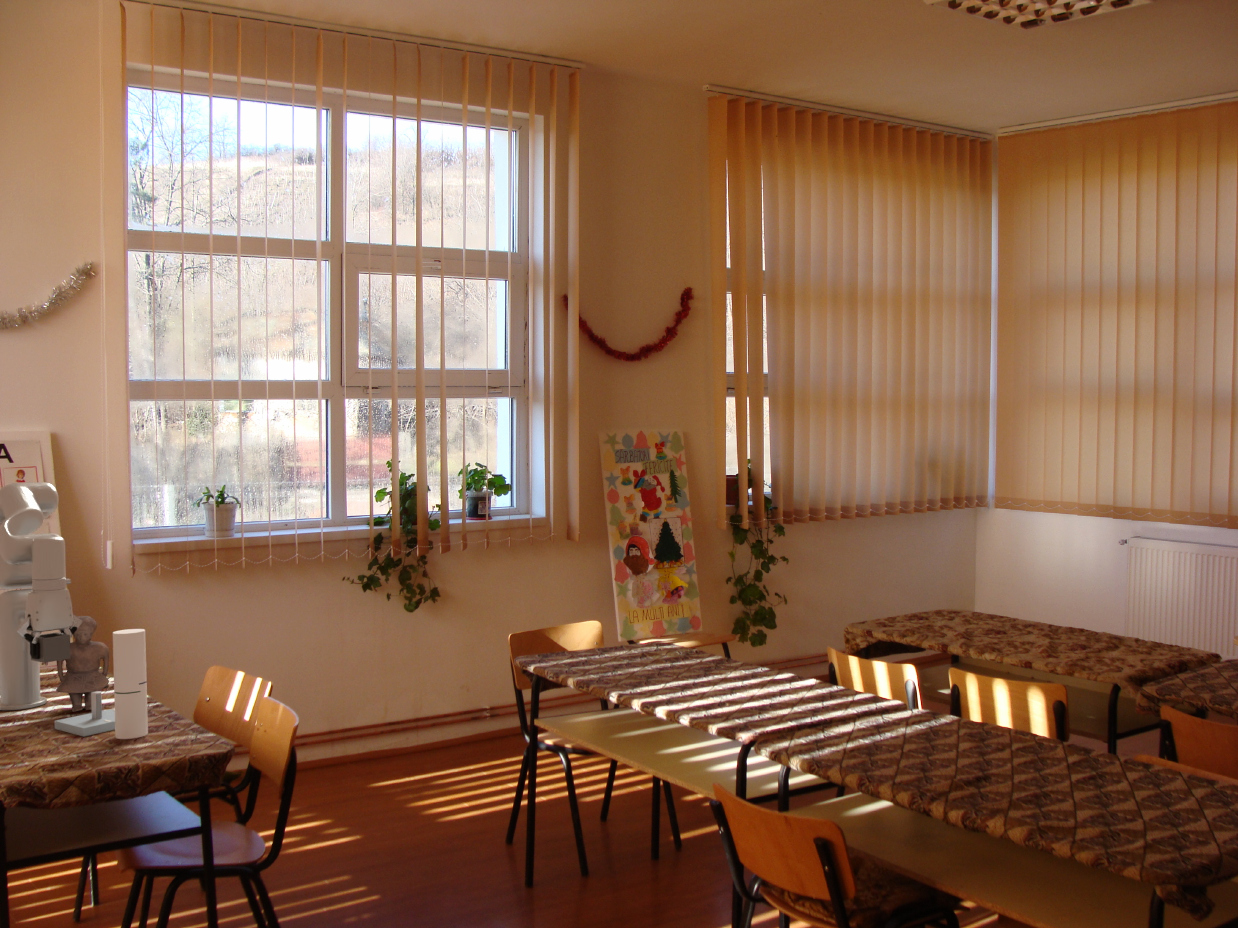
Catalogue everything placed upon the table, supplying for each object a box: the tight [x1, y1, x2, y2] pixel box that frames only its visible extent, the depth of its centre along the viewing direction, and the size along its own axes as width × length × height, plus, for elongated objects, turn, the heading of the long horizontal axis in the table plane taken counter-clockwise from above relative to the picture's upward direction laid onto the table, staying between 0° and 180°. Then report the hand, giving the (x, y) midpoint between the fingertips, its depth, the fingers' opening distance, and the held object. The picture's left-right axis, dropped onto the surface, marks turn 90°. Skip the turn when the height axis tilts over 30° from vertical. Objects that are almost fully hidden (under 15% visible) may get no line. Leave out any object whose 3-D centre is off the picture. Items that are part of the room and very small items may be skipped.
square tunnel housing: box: [31, 631, 71, 664], centre depth 270 cm, size 7×7×6 cm
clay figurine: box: [55, 615, 110, 713], centre depth 286 cm, size 13×10×25 cm
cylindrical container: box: [112, 628, 149, 740], centre depth 257 cm, size 7×7×25 cm
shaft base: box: [54, 690, 115, 737], centre depth 267 cm, size 14×14×8 cm
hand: (50, 655), depth 270 cm, fingers closed on square tunnel housing, 6 cm apart
